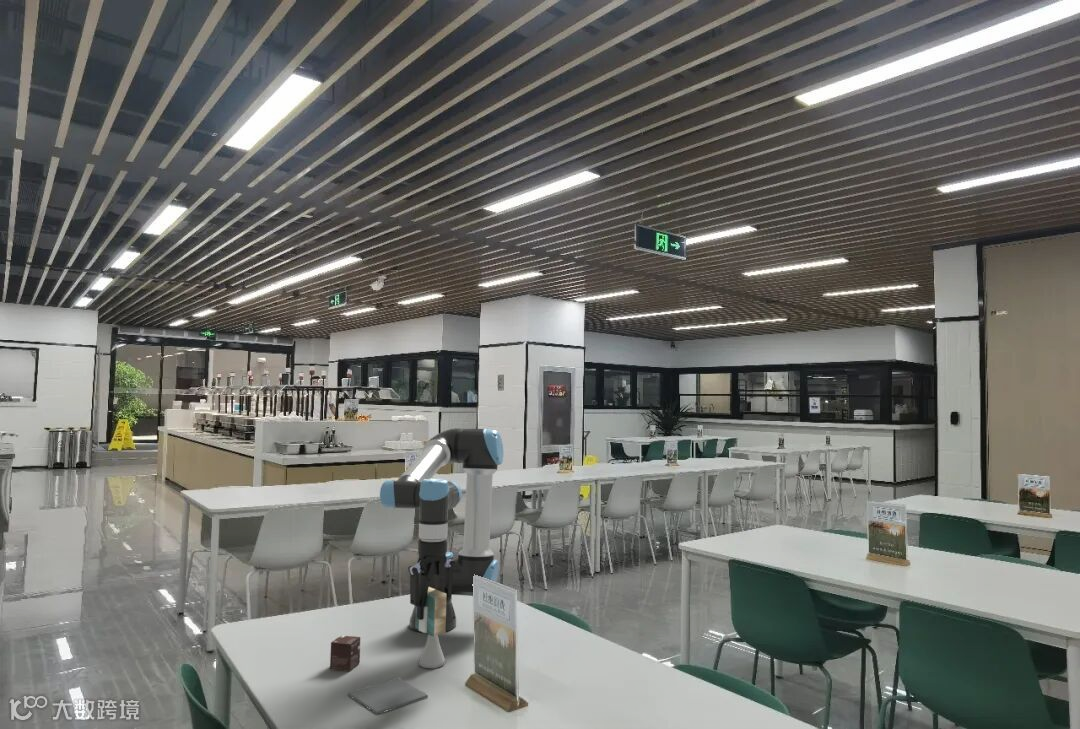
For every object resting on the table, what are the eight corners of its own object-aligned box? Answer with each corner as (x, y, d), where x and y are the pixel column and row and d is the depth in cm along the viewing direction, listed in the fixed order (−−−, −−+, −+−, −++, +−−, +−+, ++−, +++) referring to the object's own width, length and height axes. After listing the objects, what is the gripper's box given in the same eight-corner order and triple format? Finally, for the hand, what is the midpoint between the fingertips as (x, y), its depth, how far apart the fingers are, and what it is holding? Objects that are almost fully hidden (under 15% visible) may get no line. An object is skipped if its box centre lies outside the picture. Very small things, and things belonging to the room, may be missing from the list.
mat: (397, 679, 173) (397, 677, 173) (427, 697, 163) (427, 694, 163) (347, 694, 163) (348, 692, 163) (377, 714, 153) (377, 711, 153)
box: (349, 672, 178) (350, 644, 178) (329, 670, 179) (330, 642, 179) (360, 663, 184) (361, 636, 184) (340, 661, 185) (341, 634, 185)
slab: (427, 624, 177) (429, 586, 178) (445, 632, 171) (446, 593, 172) (415, 628, 174) (416, 589, 175) (432, 636, 168) (433, 596, 169)
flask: (450, 662, 186) (451, 626, 187) (435, 671, 179) (436, 633, 180) (428, 657, 189) (429, 622, 190) (413, 666, 182) (414, 629, 183)
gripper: (450, 532, 183) (448, 618, 181) (397, 540, 171) (394, 633, 169) (467, 536, 177) (465, 625, 176) (413, 545, 165) (410, 641, 164)
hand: (430, 629), depth 173 cm, fingers closed on slab, 4 cm apart
